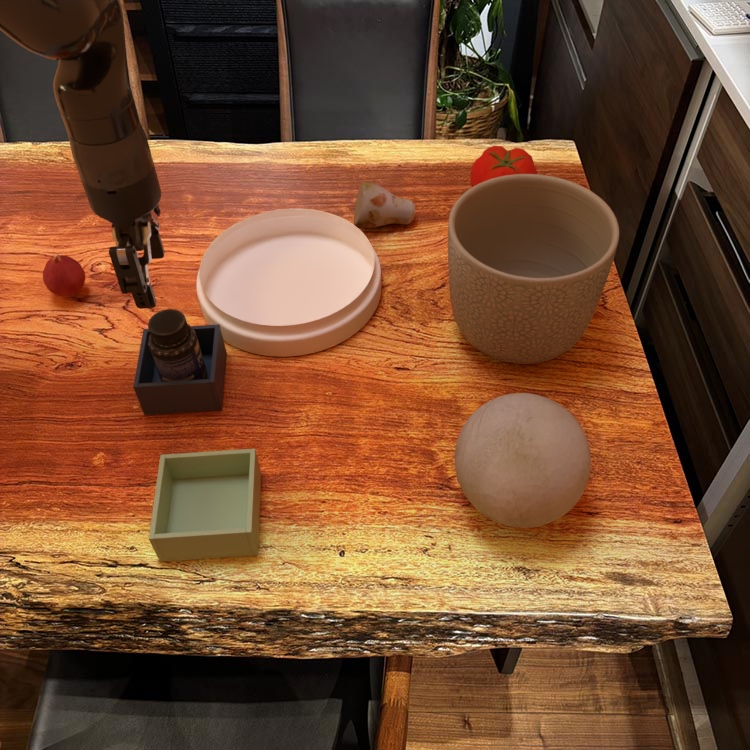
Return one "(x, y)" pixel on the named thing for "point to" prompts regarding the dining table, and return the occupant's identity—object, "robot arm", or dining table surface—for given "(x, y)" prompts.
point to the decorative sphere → (522, 460)
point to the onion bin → (206, 505)
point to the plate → (289, 282)
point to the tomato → (501, 164)
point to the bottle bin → (183, 393)
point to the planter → (528, 264)
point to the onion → (63, 276)
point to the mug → (381, 207)
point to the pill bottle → (175, 347)
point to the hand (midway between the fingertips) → (151, 281)
